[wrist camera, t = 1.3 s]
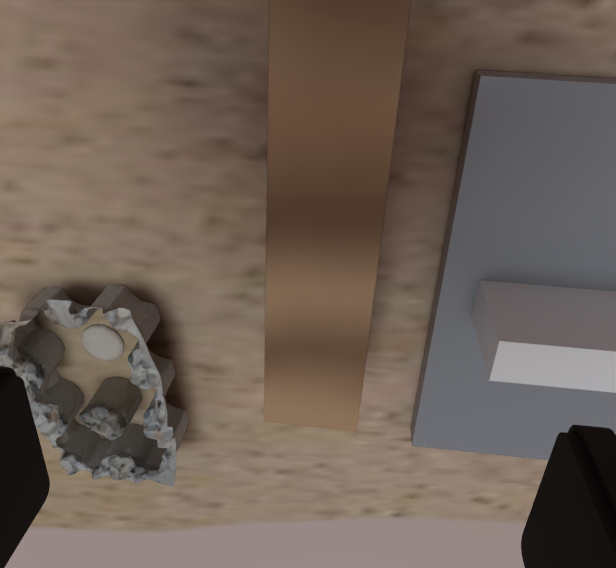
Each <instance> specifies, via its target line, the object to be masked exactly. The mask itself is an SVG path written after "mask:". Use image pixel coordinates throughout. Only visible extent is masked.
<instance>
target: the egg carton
mask: <svg viewBox="0 0 616 568" xmlns="http://www.w3.org/2000/svg"><path fill="white" fill-rule="evenodd" d="M98 308H100V309H102V310H103V316H102V317H105V318H106V319H108V320H109V321H110V323H111V325H112V327H113V328H114V329H121V330H122V331H125V332H128V333H132V334H133V335H134V336H135V337H136V338H137V339H138V340H139V341H138V342H137V344H136V346H135V347H134V349H133V350H132V352H131V353H130V355H129V356H128V364H129V367H130V370H131V373H132V375H131V379H130V381H129V380H127V379H125V378H121V377H110V378H108V379H105V380H104V381H103V383H102V384H101V386H100V387H99V389H98V390H97V392H96V393H95V395H94V396H93V398H92V399H91V401H90V402H89V404H88V405H87V407H86V408H85V410H84V411H82V412H81V413H80V414H79V419H81V420H82V421H83V422H84V423H85V425H86V426H84V425H80V424H77V422H76V421H75V419H74V417H75V415H76V414H77V412H78V411H79V409H80V407H81V406H82V404H83V403H84V395H83V393H82V391H81V390H80V389H79V388H78V386H76V385H75V384H74V383H72V382H70V381H68V380H65V379H62V378H60V376H59V374H58V373H57V371H56V370H55V367H56V365H57V364H58V363H59V361H60V360H61V358H62V356H63V354H64V351H65V349H64V344H63V343H62V341H61V340H60V338H59V337H58V336H57V335H56V334H55V333H54V332H52V331H50V330H48V329H46V328H43V327H39V326H37V324H36V322H35V320H34V317H35V316H36V315H37V314H38V313H39V311H44V314H45V316H46V317H47V318H48V319H49V320H50V321H51V322H53V323H56V324H59V325H61V326H64V327H67V328H72V329H74V328H77V327H80V326H82V325H84V324H86V323H87V321H88V320H89V319H90V318H91V316H92V315H93V314H94V313H95V311H96V310H97V309H98ZM159 322H160V315H159V312H158V308H157V306H156V305H155V304H153V303H147V302H144V301H141V300H139V299H138V298H136V297H135V296H134V295H133V294H132V293H131V291H130V290H129V289H128V287H126V286H124V285H112V284H111V285H108V286H106V287H105V289H104V290H103V292H102V293H101V294H100V295H99V296H98V297H97V298H96V300H95V302H94V303H93V304H92V305H91V306H85V305H81V304H78V303H76V302H74V301H73V300H71V299H70V298H69V297H68V296H67V294H66V293H65V292H64V290H63V289H62V288H58V287H54V288H43V289H42V290H41V291H40V292H39V294H38V295H37V296H36V297H35V298H34V299H33V300H32V301H31V302H30V303H29V304H28V305H27V306H26V308H25V309H24V310H23V311H22V312H21V317H20V320H19V322H16V321H15V320H13V321H9V322H8V321H4V322H2V323H0V366H4V367H10V368H12V369H13V370H14V371H15V373H16V375H17V376H19V377H21V378H22V379H23V381H24V384H25V388H26V391H27V395H28V399H29V403H30V407H31V411H32V415H33V418H34V422H35V426H36V427H37V428H38V429H39V431H40V432H41V433H42V434H43V435H44V437H45V438H47V439H48V440H49V441H50V442H51V445H52V447H54V448H55V449H59V450H60V451H61V452H62V456H61V459H60V463H61V466H62V468H63V469H65V470H66V471H67V475H72V474H75V473H76V472H77V471H80V470H88V471H91V472H92V479H99V478H102V477H104V476H110V477H111V478H113V479H117V480H121V479H128V480H131V481H134V482H136V483H137V484H138V483H139V482H141V481H143V480H145V479H150V480H153V481H156V482H159V483H161V484H165V485H169V486H173V485H174V482H175V473H176V451H177V450H178V448H179V446H180V444H181V441H182V438H183V436H184V434H185V431H186V429H187V425H188V423H189V420H188V416H187V413H186V410H184V409H180V408H176V407H174V406H171V405H170V404H168V403H167V402H166V399H165V398H164V397H165V395H166V393H167V391H168V388H169V386H170V384H171V382H172V380H173V378H174V377H175V369H174V366H173V362H172V361H171V360H170V359H166V358H163V357H160V356H158V355H156V354H154V353H153V352H152V351H150V350H149V348H148V347H147V346H146V343H147V341H148V340H149V339H150V337H151V335H152V333H153V332H154V330H155V329H156V327H157V325H158V324H159ZM82 344H83V345H84V348H85V349H86V350H87V351H88V352H89V353H90V354H91V355H92V356H94V357H96V358H98V359H100V360H104V361H111V360H115V359H117V358H119V357H120V356H121V355H122V353H123V351H124V341H123V339H122V337H121V336H120V335H119V334H118V333H117V332H116V331H115V330H113V329H112V328H110V327H108V326H106V325H102V324H95V325H91V326H89V327H87V328H86V329H85V330H84V332H83V334H82ZM137 386H138V387H140V388H142V389H144V390H145V389H149V388H155V389H156V390H157V392H156V394H155V396H154V398H153V400H152V402H151V404H150V406H149V408H148V409H147V410H146V412H145V413H144V417H143V419H144V424H143V426H144V427H143V426H141V425H138V424H130V422H131V420H132V418H133V416H134V414H135V412H136V410H137V408H138V406H139V404H140V402H141V399H142V395H141V392H140V390H139V388H138V387H137ZM96 432H97V433H99V434H101V435H103V436H105V437H106V438H108V439H101V438H100V437H99V435H98V434H97V433H96Z"/></svg>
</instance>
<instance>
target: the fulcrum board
mask: <svg viewBox="0 0 616 568" xmlns="http://www.w3.org/2000/svg"><path fill="white" fill-rule="evenodd" d="M572 425H584V426H594V427H604V428H610V429H611V430H613V431H614V433H615V434H616V78H600V77H583V76H567V75H551V74H534V73H518V72H502V71H485V70H475V76H474V81H473V87H472V92H471V98H470V103H469V109H468V114H467V120H466V125H465V131H464V136H463V142H462V147H461V153H460V159H459V164H458V170H457V175H456V181H455V186H454V192H453V197H452V203H451V208H450V214H449V219H448V225H447V230H446V236H445V241H444V247H443V252H442V258H441V263H440V269H439V275H438V280H437V286H436V291H435V297H434V302H433V308H432V313H431V319H430V324H429V330H428V335H427V341H426V346H425V352H424V357H423V363H422V368H421V374H420V379H419V385H418V391H417V396H416V402H415V407H414V413H413V418H412V424H411V441H412V446H418V447H428V448H437V449H447V450H457V451H466V452H476V453H485V454H495V455H505V456H514V457H524V458H533V459H543V460H549V458H550V455H551V452H552V449H553V447H554V444H555V441H556V438H557V436H558V434H559V433H560V432H566V433H567V432H568V430H569V428H570V427H571V426H572Z"/></svg>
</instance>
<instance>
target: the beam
mask: <svg viewBox="0 0 616 568" xmlns="http://www.w3.org/2000/svg"><path fill="white" fill-rule="evenodd" d="M410 6H411V0H269V70H268V146H267V222H266V298H265V374H264V421H265V422H274V423H283V424H292V425H301V426H310V427H319V428H328V429H337V430H346V431H355V432H357V427H358V419H359V411H360V403H361V395H362V387H363V380H364V372H365V364H366V356H367V348H368V340H369V332H370V324H371V316H372V308H373V300H374V292H375V284H376V276H377V268H378V260H379V252H380V245H381V237H382V229H383V221H384V213H385V205H386V197H387V189H388V181H389V173H390V165H391V157H392V149H393V141H394V133H395V125H396V117H397V109H398V102H399V94H400V86H401V78H402V70H403V62H404V54H405V46H406V38H407V30H408V22H409V14H410Z"/></svg>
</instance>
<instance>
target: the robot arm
mask: <svg viewBox="0 0 616 568" xmlns="http://www.w3.org/2000/svg"><path fill="white" fill-rule="evenodd" d="M49 486H50V482H49V476H48V473H47V469H46V465H45V461H44V457H43V453H42V449H41V446H40V442H39V438H38V434H37V430H36V426H35V422H34V418H33V415H32V411H31V407H30V403H29V399H28V395H27V391H26V388H25V384H24V381H23V379H22V378H21V377H19V376H17V375H16V373H15V371H14V370H13V369H12V368H10V367H4V366H0V568H4V567H5V565H6V564H7V562H8V561H9V559H10V557H11V556H12V554H13V552H14V551H15V549H16V547H17V546H18V544H19V543H20V541H21V539H22V538H23V536H24V534H25V533H26V531H27V530H28V528H29V526H30V525H31V523H32V522H33V520H34V518H35V517H36V515H37V513H38V512H39V510H40V509H41V507H42V505H43V504H44V502H45V500H46V498H47V495H48V492H49ZM521 550H522V557H523V562H524V566H525V568H616V434H615V433H614V431H613V430H611V429H610V428H604V427H594V426H584V425H572V426H571V427H570V428H569V430H568V432H567V433H566V432H560V433H559V434H558V436H557V438H556V441H555V444H554V447H553V449H552V452H551V455H550V458H549V461H548V464H547V466H546V469H545V472H544V475H543V478H542V481H541V483H540V486H539V489H538V492H537V495H536V498H535V500H534V503H533V506H532V509H531V512H530V515H529V517H528V520H527V523H526V526H525V529H524V532H523V535H522V541H521Z"/></svg>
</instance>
